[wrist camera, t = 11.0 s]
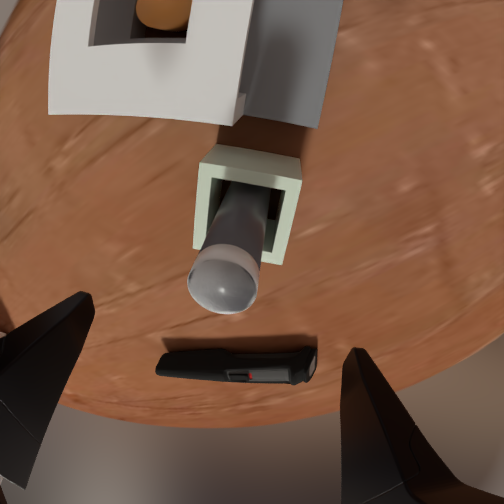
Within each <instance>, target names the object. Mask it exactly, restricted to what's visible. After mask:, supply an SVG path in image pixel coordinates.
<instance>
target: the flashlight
mask: <svg viewBox="0 0 504 504" xmlns="http://www.w3.org/2000/svg"><path fill="white" fill-rule="evenodd" d="M270 194H271V188H270V187H265V186H259V185H254V184H248V183H243V182H237V181H232V182H231V184H230V186H229V188H228V190H227V192H226V194H225V197H224V199H223V201H222V203H221V205H220V207H219V209H218V212H217V214H216V216H215V218H214V220H213V223H212V225H211V227H210V229H209V231H208V234H207V236H206V238H205V240H204V243H203V245H202V247H201V249H200V252H199V254H198V256H197V257H196V259H195V262H194V264H193V266H192V269H191V271H190V273H189V276H188V281H187V283H188V289H189V292H190V294H191V296H192V297H193V298H194V300H195V301H196V302H197V303H198V304H200V305H201V306H202V307H204V308H206V309H208V310H210V311H213V312H216V313H221V314H234V313H238V312H241V311H243V310H245V309H247V308H248V307H250V306H251V305H252V303H253V302H254V300H255V298H256V295H257V289H258V282H259V271H260V265H261V258H262V251H263V244H264V237H265V230H266V222H267V215H268V208H269V201H270Z"/></svg>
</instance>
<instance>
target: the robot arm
mask: <svg viewBox="0 0 504 504" xmlns="http://www.w3.org/2000/svg"><path fill="white" fill-rule="evenodd" d="M94 315H95V308H94V304H93V300H92V296H91V294H89V293H87V292H83V291H79V292H77V293H76V294H74V295H72V296H70V297H69V298H67V299H65V300H63V301H62V302H60V303H58V304H56V305H55V306H53V307H51V308H50V309H48V310H46V311H45V312H43V313H41V314H39V315H38V316H36V317H34V318H33V319H31V320H29V321H28V322H26V323H24V324H23V325H21V326H19V327H18V328H16V329H14V330H13V331H11V332H10V333H8V334H6V336H3V337H1V338H0V484H1V482H2V479H3V477H4V478H5V479H7V480H9V481H10V482H12V483H14V484H15V485H17V486H19V487H20V488H22V489H24V490H25V488H26V486H27V483H28V480H29V477H30V474H31V471H32V468H33V465H34V462H35V460H36V457H37V454H38V451H39V449H40V446H41V443H42V440H43V438H44V435H45V433H46V430H47V427H48V425H49V422H50V420H51V418H52V415H53V413H54V410H55V408H56V406H57V403H58V401H59V399H60V396H61V394H62V392H63V390H64V387H65V385H66V383H67V381H68V378H69V376H70V374H71V372H72V370H73V368H74V366H75V363H76V361H77V359H78V357H79V355H80V353H81V351H82V348H83V345H84V343H85V340H86V337H87V334H88V332H89V329H90V326H91V324H92V321H93V319H94ZM340 419H341V420H340V421H341V477H342V478H341V504H504V498H503V497H500V496H497V495H494V494H491V493H488V492H485V491H482V490H479V489H477V488H474V487H471V486H468V485H466V484H464V483H463V482H461V481H460V480H459V479H457V478H456V477H455V476H454V474H453V473H452V472H451V471H450V469H449V468H448V467H447V466H446V465H445V463H444V462H443V461H442V459H441V458H440V457H439V456H438V454H437V453H436V452H435V451H434V449H433V448H432V447H431V445H430V444H429V443H428V441H427V440H426V438H425V437H424V435H423V434H422V433H421V431H420V430H419V428H418V426H417V425H415V422H414V421H413V419H412V417H411V416H410V415H409V413H408V411H407V410H406V409H405V407H404V405H403V404H402V402H401V401H400V400H399V398H398V397H397V395H396V394H395V392H394V391H393V389H392V388H391V386H390V385H389V383H388V382H387V380H386V379H385V377H384V376H383V374H382V373H381V371H380V370H379V369H378V367H377V366H376V364H375V363H374V361H373V360H372V358H371V357H370V356H369V354H368V353H367V351H366V350H365V349H363V348H357V347H354V348H352V349H351V351H350V352H349V354H348V356H347V358H346V359H345V361H344V363H343V368H342V385H341V399H340ZM0 504H7V502H6V499H5V497H4V494H3V491H2V488H1V485H0Z"/></svg>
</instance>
